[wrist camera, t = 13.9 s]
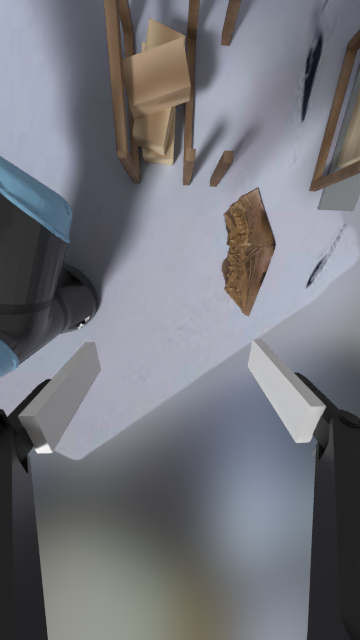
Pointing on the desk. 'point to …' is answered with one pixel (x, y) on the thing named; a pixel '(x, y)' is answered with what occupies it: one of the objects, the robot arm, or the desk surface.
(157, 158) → the offcut
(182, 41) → the offcut
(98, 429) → the desk surface
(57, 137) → the desk surface
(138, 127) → the offcut
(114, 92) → the rack
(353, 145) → the pale wooden block
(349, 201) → the felt mat
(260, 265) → the wooden fragment
